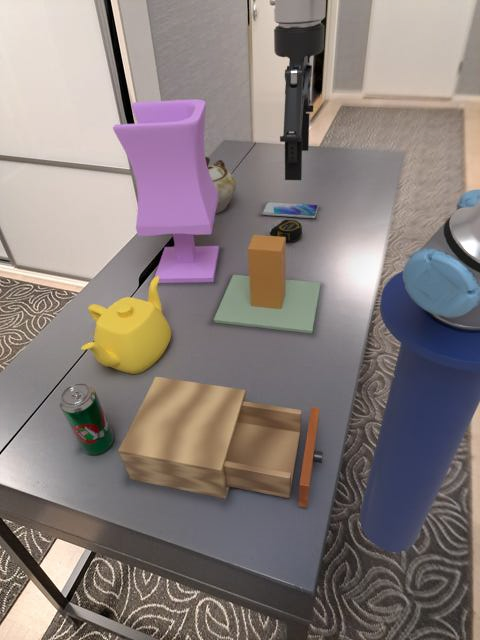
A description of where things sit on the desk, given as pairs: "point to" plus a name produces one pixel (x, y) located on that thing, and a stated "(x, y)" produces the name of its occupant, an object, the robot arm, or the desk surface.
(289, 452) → the drawer
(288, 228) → the tape measure
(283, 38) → the robot arm
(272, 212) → the smartphone
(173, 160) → the vase
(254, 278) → the orange rectangular block
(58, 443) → the desk surface
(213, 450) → the cabinet
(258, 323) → the mat
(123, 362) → the teapot
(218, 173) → the sugar bowl
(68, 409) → the soda can
